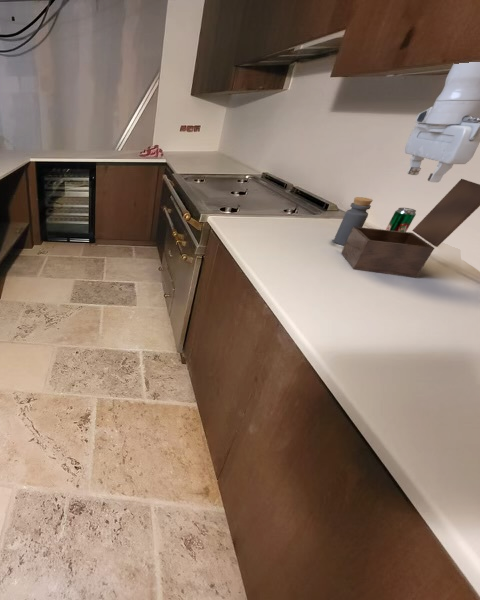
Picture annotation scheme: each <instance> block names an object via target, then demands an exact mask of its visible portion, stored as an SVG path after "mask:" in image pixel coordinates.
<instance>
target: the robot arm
mask: <svg viewBox="0 0 480 600" xmlns="http://www.w3.org/2000/svg"><path fill="white" fill-rule="evenodd" d="M414 123H417V124H415V125H414V127H413V128H412V130H411V132H410V134H409V137H408V140H407V142H406V145H405V147H404V148H405V149H404V153H405V154H407V155H411V158H410V160H409V161H410V162H409V168H408V170H407V175H410V176H418V175H419V174H420V171H421V170H422V168H421V164H422V161H424V160H425V159H427V160H431V161H435V162H438V163H437V165H436V167H437V168H436V169H435V170H434V172H433V173H431V172H430V174H429V176H428V178H427V182H430V183H440V182H441V180H442V179H443V177H444V175H445V174H447V173H448V172H449V171H450V170H451V169H452V168H453V166H454V165H467V164H468V162H470V161H471V160H472V158H473V157H474V156H475V153H476V151H477V149H478V147H479V146H480V145H479V144H480V62H469V63H459V64H454V63H453V64H452V66H451V68H450V69H449V72H448V74H447V76H446V78H445V83H444V87H443V88H442V90H441V92H440V93H439V95H438V96H437V97H436V98H435V101H434V102H433V105H432V106H430V107H429V108H427V109H425V110H422V111H421V112H419V113H418V114H417V116H416V118H415V122H414Z"/></svg>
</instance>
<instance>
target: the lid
mask: <svg viewBox="0 0 480 600" xmlns="http://www.w3.org/2000/svg"><path fill="white" fill-rule="evenodd" d="M479 208H480V184H479V183H476V182H473V181H470V180H467V179H464V178H461V179H459V181H457V183H456V184H455V185H454V186H453V187H452V188H451V189H450V190H449V191H448V192H447V193H446V194H445V195H444V196H443V198H441V200H439V201H438V202H437V204H436V205H435V206H434V207H433V208H432V209H431V210H430V211H429V212H428V213H427V215H425V217H423V218H422V220H421V221H420V222H418V223H417V225H416V226H415V227H414V228H413V229H412V230H411V231H412V233H414V234H415V235H417V236H418V237H419V238H421V239H422V240H424V241H425V242H427V243H428V244H430V245H431V246H433V247H436V248H438V247H439V246H440V245H441V244H442V243H443V242H444V241H446V239H447V238H448V237H450V236H451V235H452V234H453V233H454V232H455V231H456V230H457V229H458V228H459V227H460V226H461V225H462V224H463V223H464V222H465V221H466V220H467V219H468V218H469V217H470V216H471V215H472V214H474V212H475V211H476V210H478V209H479Z"/></svg>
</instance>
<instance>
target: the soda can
mask: <svg viewBox="0 0 480 600" xmlns="http://www.w3.org/2000/svg"><path fill="white" fill-rule="evenodd" d="M416 212H417V210H416V209H414V208H409V207H398V209H396V210H395V211H394V213H393V215H392V217H391V218H390V219H389V223H388V224H387V226H386V228H385V230H391V231H401V232H408V229H409V228H410V227H411V224H412V222H413V221H414V219H415V217H416V214H417V213H416Z"/></svg>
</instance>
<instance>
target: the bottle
mask: <svg viewBox="0 0 480 600" xmlns="http://www.w3.org/2000/svg"><path fill="white" fill-rule="evenodd" d="M373 201H374V200H373V199H372V198H368V197H363V196H355V197H354V199H353V202H351V203H350V207H351V208H350V209H347V210H346V211H345V214H344V216H343V218H342V220H341V223H340V225H339V227H338V229H337V232H336V233H335V236H334V238H333V242H334V243H335V244H337V245H341V246H345V244H346V241H347V239H348V237H349V235H350V233H351V231H352V229H353V227H361V228H364V225H365V223H366V221H367V219H368V216H369V212H367V211H368V210H370V209H371V207H372V206H371V204H372V202H373Z"/></svg>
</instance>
